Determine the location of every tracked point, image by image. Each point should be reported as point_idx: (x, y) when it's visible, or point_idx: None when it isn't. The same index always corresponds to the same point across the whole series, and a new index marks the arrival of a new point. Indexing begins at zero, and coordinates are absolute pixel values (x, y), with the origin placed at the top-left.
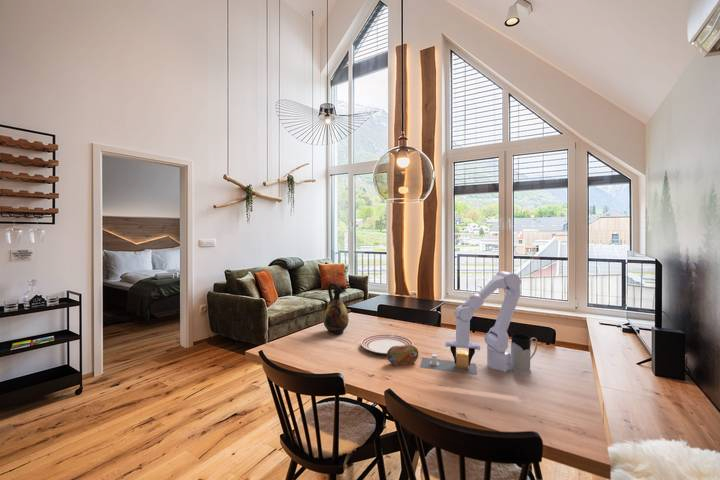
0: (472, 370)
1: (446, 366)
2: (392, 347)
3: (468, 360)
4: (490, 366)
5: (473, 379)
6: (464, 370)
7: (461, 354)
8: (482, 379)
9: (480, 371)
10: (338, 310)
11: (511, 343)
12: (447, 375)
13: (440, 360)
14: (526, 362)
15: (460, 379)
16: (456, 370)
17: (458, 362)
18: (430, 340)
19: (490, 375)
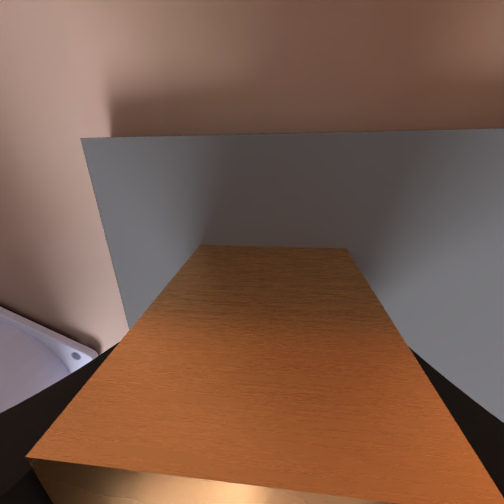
0: (154, 251)
1: (472, 284)
2: None
3: (135, 323)
4: (5, 359)
5: (145, 88)
6: (244, 224)
7: (288, 485)
8: (58, 128)
9: (113, 308)
10: None
11: None
12: (475, 97)
13: (499, 416)
14: None
15: (304, 14)
16: (351, 194)
17: (337, 294)
18: None
19: (21, 251)
